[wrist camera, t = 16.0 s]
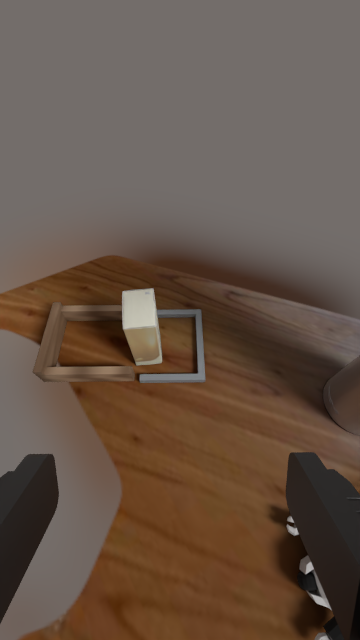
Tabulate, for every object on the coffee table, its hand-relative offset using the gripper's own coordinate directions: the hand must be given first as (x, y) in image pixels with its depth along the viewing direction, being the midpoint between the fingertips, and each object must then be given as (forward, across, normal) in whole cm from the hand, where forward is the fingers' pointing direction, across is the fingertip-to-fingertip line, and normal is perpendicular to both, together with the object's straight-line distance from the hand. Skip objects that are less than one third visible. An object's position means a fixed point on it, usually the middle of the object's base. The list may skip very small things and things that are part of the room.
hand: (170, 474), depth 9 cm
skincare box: (+36, +5, +8) cm, 37 cm away
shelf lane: (+36, +14, +7) cm, 40 cm away
